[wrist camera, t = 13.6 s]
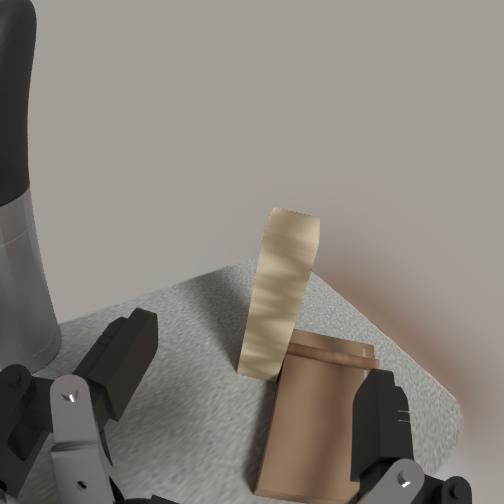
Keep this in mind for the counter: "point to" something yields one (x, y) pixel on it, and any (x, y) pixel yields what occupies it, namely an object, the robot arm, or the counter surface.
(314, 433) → the walnut board
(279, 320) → the l-shaped wooden block
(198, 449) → the counter surface
